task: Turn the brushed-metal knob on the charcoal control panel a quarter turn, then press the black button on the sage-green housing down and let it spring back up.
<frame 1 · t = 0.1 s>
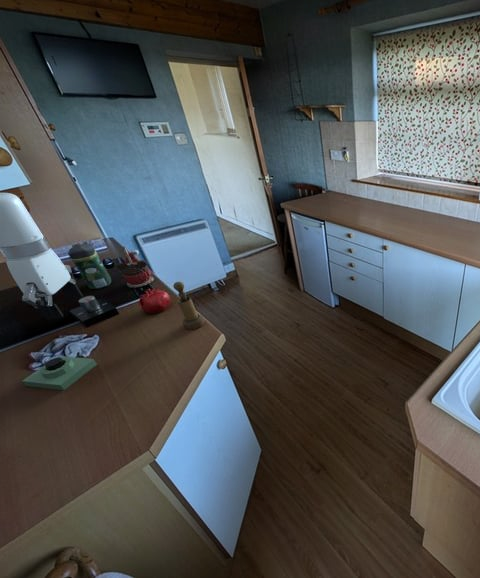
hand: (66, 307, 78), 23 cm above the worktop, tool pointing down, fingers open, 9 cm apart
panel: (96, 315, 112), on the worktop
knob: (89, 303, 109), point 5 cm above the worktop, hinge at 0.0°
button box: (63, 374, 87), on the worktop
cake: (141, 283, 132), on the worktop
coffee jar: (101, 285, 131), on the worktop
pomegranate: (158, 308, 116), on the worktop
mortar and pestle: (194, 324, 108), on the worktop
button: (54, 364, 85), point 4 cm above the worktop, slide at 0.1 cm
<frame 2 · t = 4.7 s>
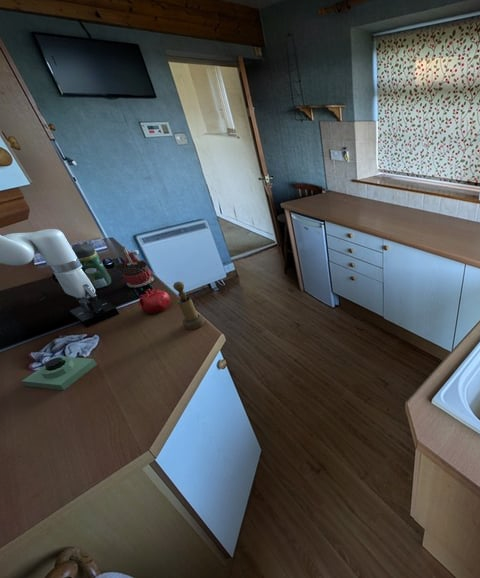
hand: (92, 308, 110), 3 cm above the worktop, tool pointing down, fingers closed on knob, 4 cm apart
knob: (89, 303, 109), point 5 cm above the worktop, hinge at 0.1°, touching gripper
everything else where it was.
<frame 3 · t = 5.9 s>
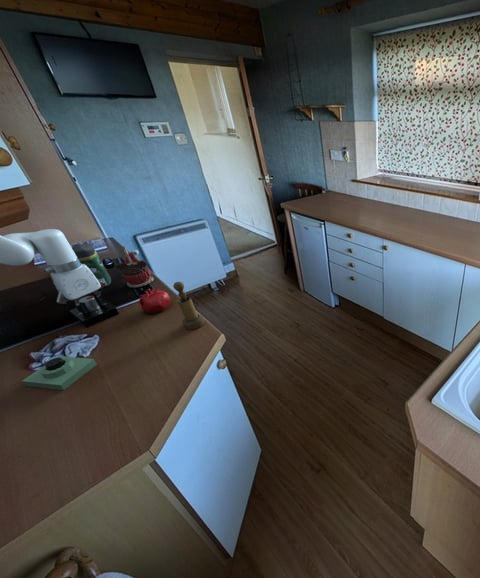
hand: (92, 308, 110), 3 cm above the worktop, tool pointing down, fingers closed on knob, 4 cm apart
knob: (89, 303, 109), point 5 cm above the worktop, hinge at 90.7°, touching gripper
everything else where it was.
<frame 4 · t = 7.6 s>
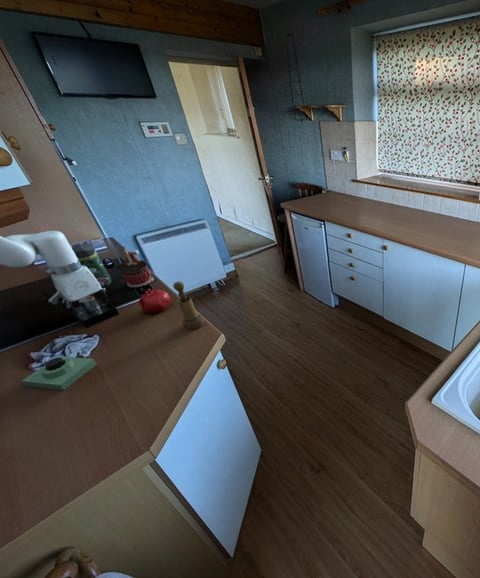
hand: (91, 307, 110), 4 cm above the worktop, tool pointing down, fingers open, 9 cm apart
knob: (89, 303, 109), point 5 cm above the worktop, hinge at 90.7°
everything else where it was.
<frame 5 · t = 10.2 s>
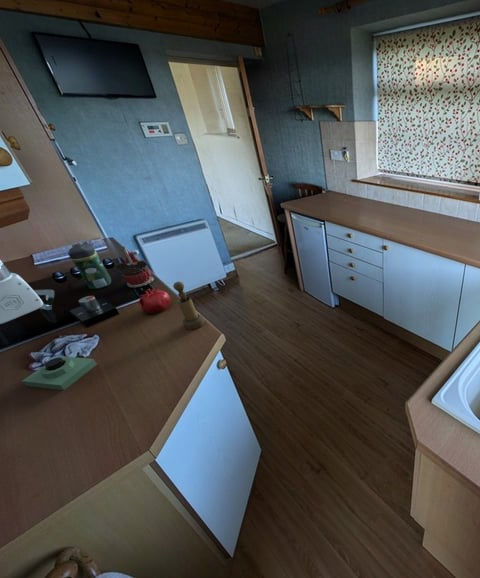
hand: (29, 331, 78), 16 cm above the worktop, tool pointing down, fingers open, 9 cm apart
nothing on the worktop moved.
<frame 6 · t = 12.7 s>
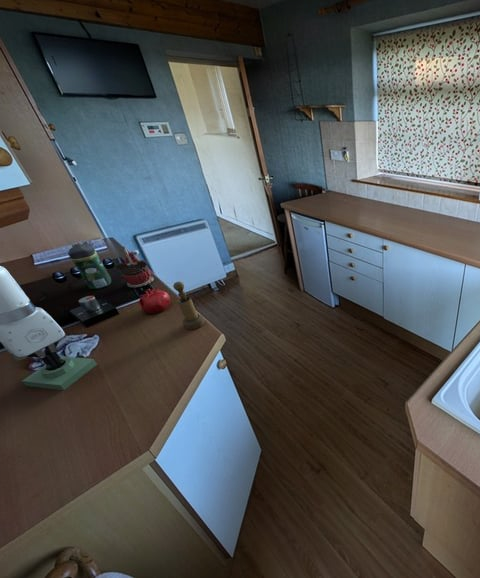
hand: (54, 363, 84), 5 cm above the worktop, tool pointing down, fingers closed
button: (56, 365, 85), point 4 cm above the worktop, slide at -0.5 cm, touching gripper
everything else where it was.
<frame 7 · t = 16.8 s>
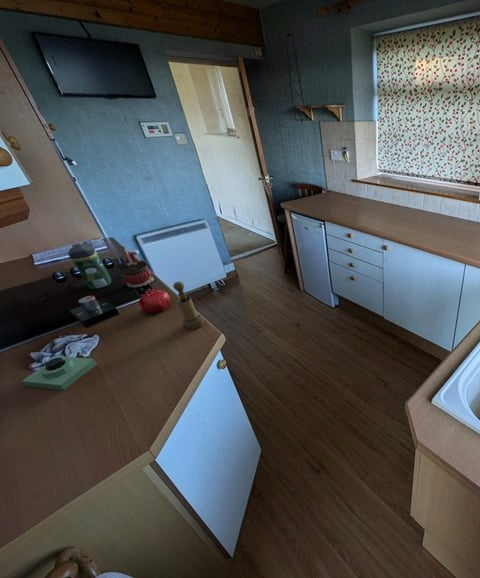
button: (54, 364, 85), point 4 cm above the worktop, slide at 0.1 cm
everything else where it was.
at the end: knob at +91° (first picture: +0°); button pushed in 1.1 cm at the most during the clip, back to where it started at the end; button slide at 0.1 cm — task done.
